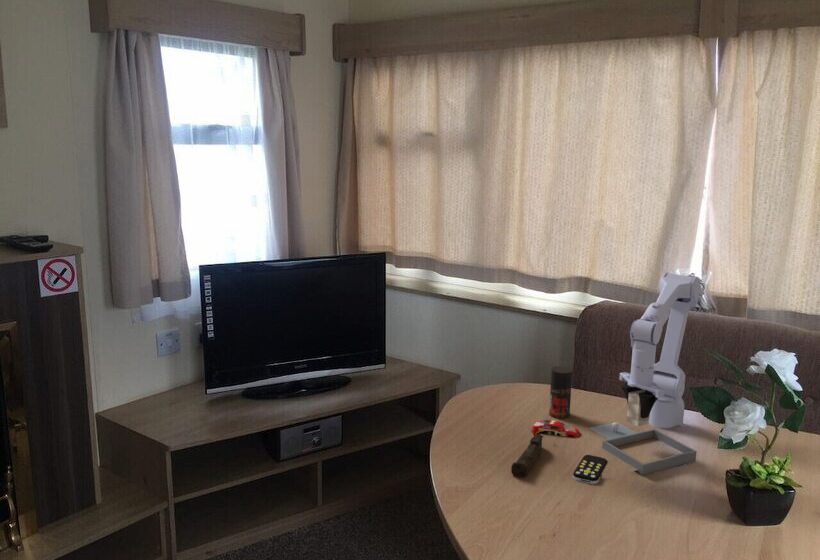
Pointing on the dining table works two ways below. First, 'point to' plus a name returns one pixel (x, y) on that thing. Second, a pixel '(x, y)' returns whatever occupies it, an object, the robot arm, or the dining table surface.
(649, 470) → the bin
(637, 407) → the beige block
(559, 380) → the deodorant
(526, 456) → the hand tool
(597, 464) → the remote control
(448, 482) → the dining table surface
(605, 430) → the stud plate
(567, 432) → the race car
